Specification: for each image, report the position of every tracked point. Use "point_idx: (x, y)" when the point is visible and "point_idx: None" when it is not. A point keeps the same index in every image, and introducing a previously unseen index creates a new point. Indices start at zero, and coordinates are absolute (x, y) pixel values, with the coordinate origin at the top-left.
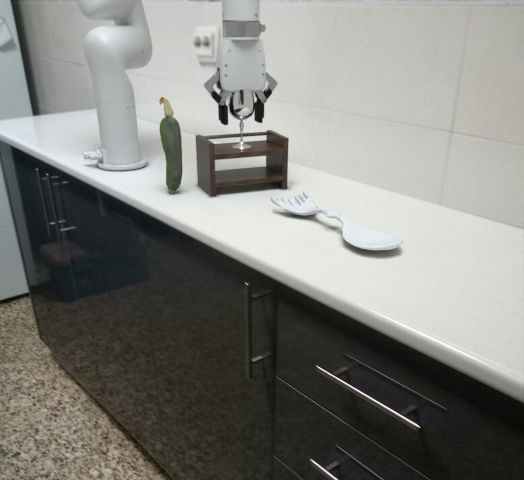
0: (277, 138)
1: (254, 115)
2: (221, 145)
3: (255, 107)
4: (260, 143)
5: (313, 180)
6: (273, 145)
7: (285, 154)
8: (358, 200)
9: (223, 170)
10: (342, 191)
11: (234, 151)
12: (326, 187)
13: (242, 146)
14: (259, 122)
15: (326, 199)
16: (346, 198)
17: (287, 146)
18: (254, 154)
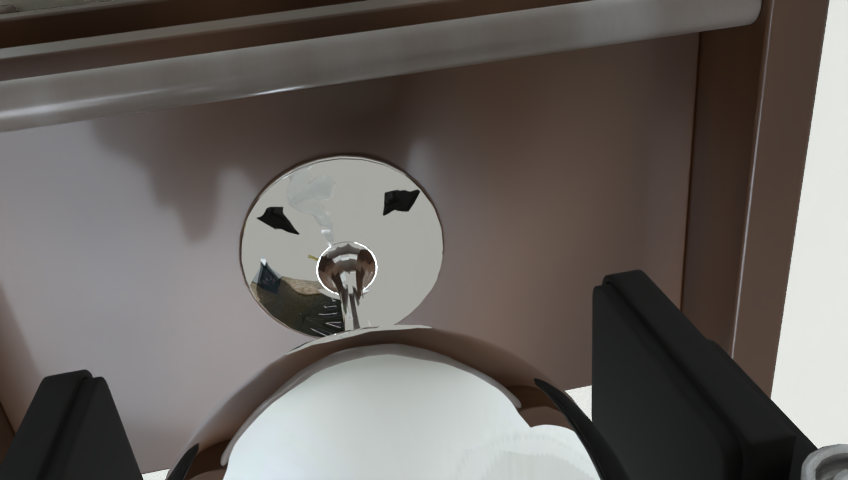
0: (720, 284)
1: (620, 319)
2: (128, 155)
3: (680, 430)
4: (576, 134)
5: (834, 61)
6: (657, 242)
7: None
8: (810, 438)
9: (188, 17)
10: (837, 306)
11: None
12: (811, 225)
13: (339, 316)
14: (597, 421)
15: None
16: (782, 408)
17: None
18: None
